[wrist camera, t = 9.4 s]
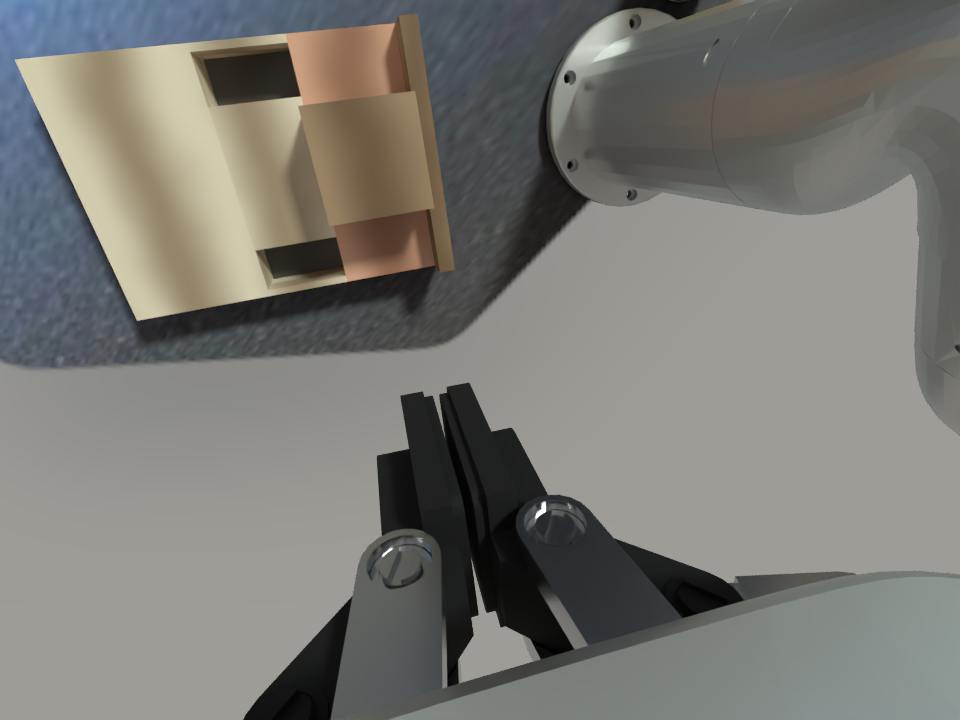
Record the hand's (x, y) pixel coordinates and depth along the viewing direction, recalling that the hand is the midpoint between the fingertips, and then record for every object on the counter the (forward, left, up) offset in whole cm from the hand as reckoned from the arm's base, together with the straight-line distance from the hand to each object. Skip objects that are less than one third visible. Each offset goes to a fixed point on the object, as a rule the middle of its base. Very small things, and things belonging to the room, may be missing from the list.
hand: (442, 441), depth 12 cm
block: (-3, -5, -23) cm, 24 cm away
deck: (+2, -7, -26) cm, 27 cm away
